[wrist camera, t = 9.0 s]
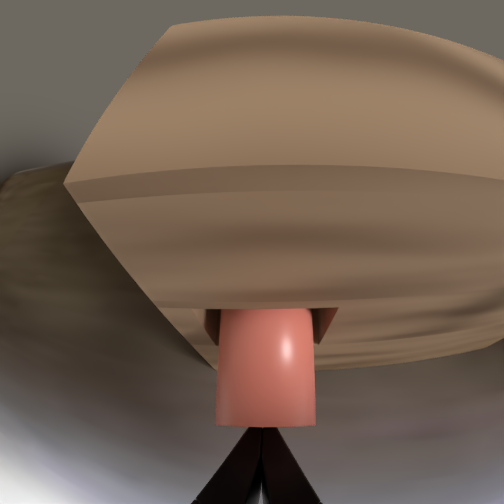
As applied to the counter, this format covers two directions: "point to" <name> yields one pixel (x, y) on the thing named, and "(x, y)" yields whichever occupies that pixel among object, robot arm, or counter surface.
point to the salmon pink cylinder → (265, 368)
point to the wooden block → (309, 184)
